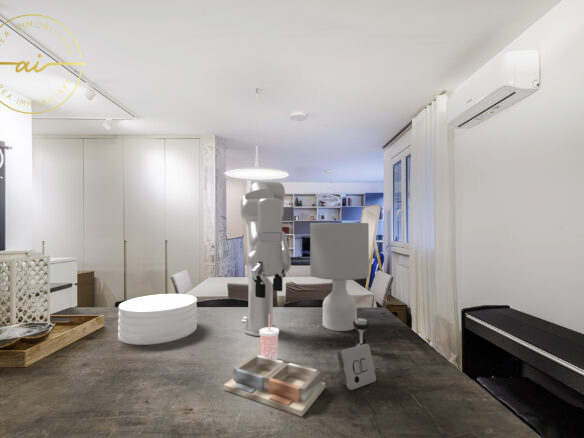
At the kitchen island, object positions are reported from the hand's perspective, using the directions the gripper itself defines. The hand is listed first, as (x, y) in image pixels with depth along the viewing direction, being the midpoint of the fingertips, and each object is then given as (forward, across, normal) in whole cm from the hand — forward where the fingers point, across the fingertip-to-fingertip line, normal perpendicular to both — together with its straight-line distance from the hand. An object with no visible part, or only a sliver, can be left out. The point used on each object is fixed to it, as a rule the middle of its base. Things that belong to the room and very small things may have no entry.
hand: (269, 293), depth 91 cm
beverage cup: (+20, 0, 0) cm, 20 cm away
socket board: (+20, +13, +10) cm, 26 cm away
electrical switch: (+20, 0, +27) cm, 34 cm away
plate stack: (+21, -1, -52) cm, 56 cm away
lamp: (+21, -41, +8) cm, 47 cm away
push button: (+20, -20, +23) cm, 37 cm away
